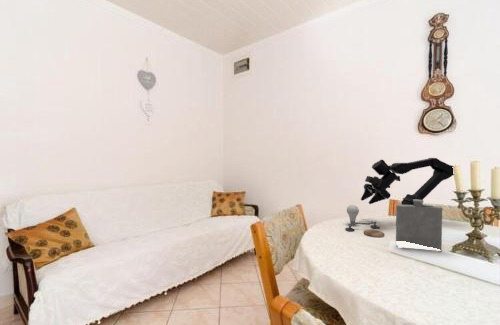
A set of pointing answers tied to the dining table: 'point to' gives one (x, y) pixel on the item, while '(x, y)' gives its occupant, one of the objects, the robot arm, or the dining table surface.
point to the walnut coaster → (374, 233)
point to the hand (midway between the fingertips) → (365, 201)
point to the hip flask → (419, 224)
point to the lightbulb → (352, 213)
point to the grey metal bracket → (362, 223)
